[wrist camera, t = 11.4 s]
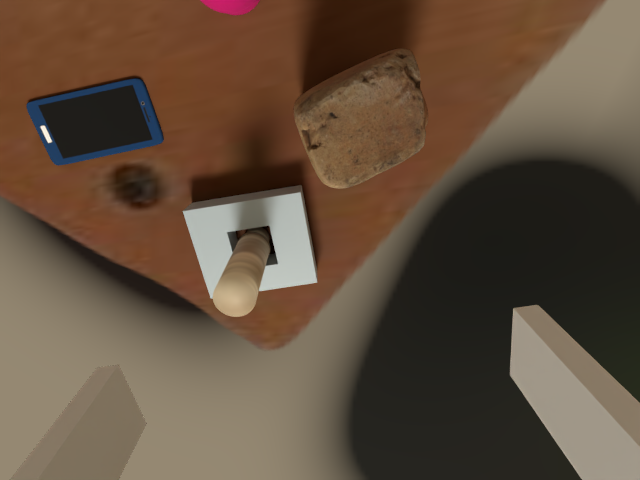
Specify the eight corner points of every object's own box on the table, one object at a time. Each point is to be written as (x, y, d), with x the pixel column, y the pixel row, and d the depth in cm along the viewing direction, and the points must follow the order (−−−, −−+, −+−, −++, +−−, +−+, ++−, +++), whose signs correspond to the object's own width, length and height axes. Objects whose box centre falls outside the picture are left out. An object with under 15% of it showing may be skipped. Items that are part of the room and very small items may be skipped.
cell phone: (27, 102, 41) (22, 102, 41) (143, 76, 41) (140, 76, 40) (57, 165, 44) (53, 167, 43) (167, 142, 43) (165, 143, 43)
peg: (238, 225, 47) (206, 282, 33) (269, 220, 47) (251, 275, 33) (245, 254, 49) (218, 320, 35) (276, 249, 48) (261, 313, 35)
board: (191, 202, 46) (182, 211, 43) (301, 184, 45) (300, 192, 42) (217, 284, 50) (210, 298, 47) (317, 269, 50) (317, 282, 46)
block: (320, 157, 44) (324, 207, 25) (292, 97, 41) (275, 104, 23) (404, 117, 42) (474, 140, 24) (381, 52, 40) (439, 20, 21)
